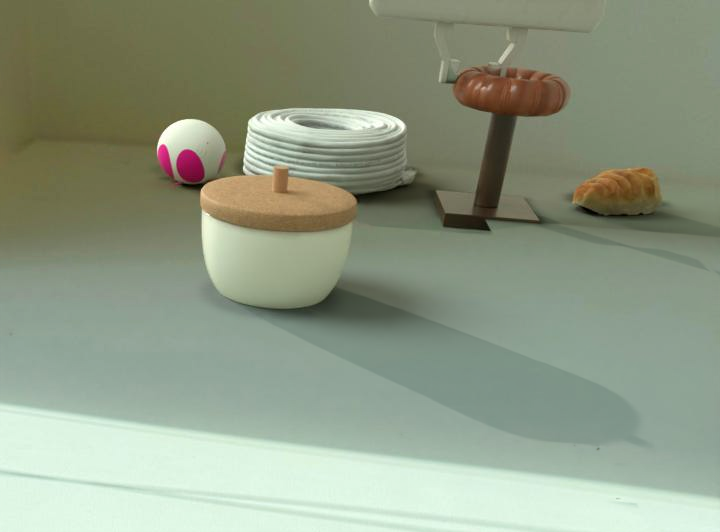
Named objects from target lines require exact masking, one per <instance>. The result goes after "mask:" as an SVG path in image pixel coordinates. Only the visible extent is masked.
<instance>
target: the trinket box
mask: <svg viewBox="0 0 720 532" xmlns="http://www.w3.org/2000/svg"><path fill="white" fill-rule="evenodd" d="M288 174H289V167H286V166H274V170H273V175H246V174H244V175H235V176H227V177H222V178H217V179H214V180H210V181H208V182H206V184H204V185H203V187H202V188H201V189H200V197H199V200H200V203H199V204H200V207H201V245H202V253H203V259H204V265H205V267H206V270H207V273H208V276H209V278H210V280H211V282H212V284H213V286H214V287H215V289H216V290H217V291H218V293H220V295H222V296H223V297H224V298H227V299H229V300H230V301H233V302H236V303H239V304H243V305H246V306H250V307H256V308H264V309H275V310H276V309H277V310H281V309H282V310H284V309H285V310H287V309H289V310H290V309H300V308H301V309H302V308H307V307H312V306H314V305H317V304H319V303H321V302H322V301H324V300H325V299H326V298H327V297H328V296H329V295H330V294H331V292H332V291H333V290H334V288H335V287H336V285H337V283H338V281H339V280H340V278H341V276H342V274H343V272H344V271H343V270H344V268H345V266H346V263H347V258H348V254H349V250H350V246H351V239H352V234H353V226H354V220H355V219H356V215H357V210H358V201H357V198H356V197H355V195H352V194H351V193H349V192H347V191H345V190H343V189H341V188H339V187H336V186H333V185H330V184H327V183H323V182H318V181H314V180H308V179H303V178H295V177H288Z"/></svg>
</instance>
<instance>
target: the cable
mask: <svg viewBox="0 0 720 532" xmlns="http://www.w3.org/2000/svg"><path fill="white" fill-rule="evenodd" d="M407 132H408V128H407V124H406V123H405V122H404V121H403V120H402V119H400V118H398V117H396V116H393V115H391V114H387V113H384V112H379V111H374V110H373V111H372V110H364V109H351V108H349V109H348V108H347V109H346V108H320V107H319V108H316V107H315V108H314V107H306V108H305V107H294V108H293V107H291V108H283V109H273V110H272V109H271V110H267V111H261V112H259V113H257V114H255V115H254V116H252V117H251V118H249V120H248V121H247V133H246V139H245V145H244V154H243V155H244V156H243V160H242V161H243V166H242V171H243V173H244V175H273V170H274V166H286V167H289V174H288V177H295V178H303V179H308V180H314V181H318V182H323V183H327V184H330V185H333V186H336V187H339V188H341V189H343V190H345V191H347V192H349V193H351V194H352V195H353V196H356V195H366V194H372V193H376V192H385V191H388V190H392V189H394V188H396V187H399V186H400V187H401V186H404V185H411V184H412V182H414V180H415V178H416V176H417V174H418V170H417V169H414V168H413V166H412V165H410V164H407V163H408V160H407V138H408V134H407Z"/></svg>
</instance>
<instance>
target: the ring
mask: <svg viewBox="0 0 720 532" xmlns="http://www.w3.org/2000/svg"><path fill="white" fill-rule="evenodd" d="M487 68H488V65H474V66H470V67H469V66H468V67H466V68H463V69H461V70H459V71H458V72H457V73H456V74H457V76H458V77H457V82H456V84H451V85H452V87H451V88H452V90H451V91H452V94H453V96H454V98H455V99H456V100H457V102H458V103H459V104H460V105H462V106H464V107H466V108H469V109H473V110H476V111H479V112H484V113H489V114H490V113H491V114H492V113H495V114H501V115H511V116H518V117H523V118H534V117H535V118H536V117H549V116H552V115H554V114H557V113H560V112H561V111H563V110H564V109H565V108H566V106H568V104H569V101H570V98H571V88H570V85H569V83H568V82H567V81H566V80H565V79H563V78H562V77H561V76H559V75H557V74H554V73H550V72H545V71H542V70H536V69H530V68H529V69H528V68H522V67H513V66H507V71H506V76H505V77H500V76H493V75H488V71H487Z"/></svg>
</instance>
